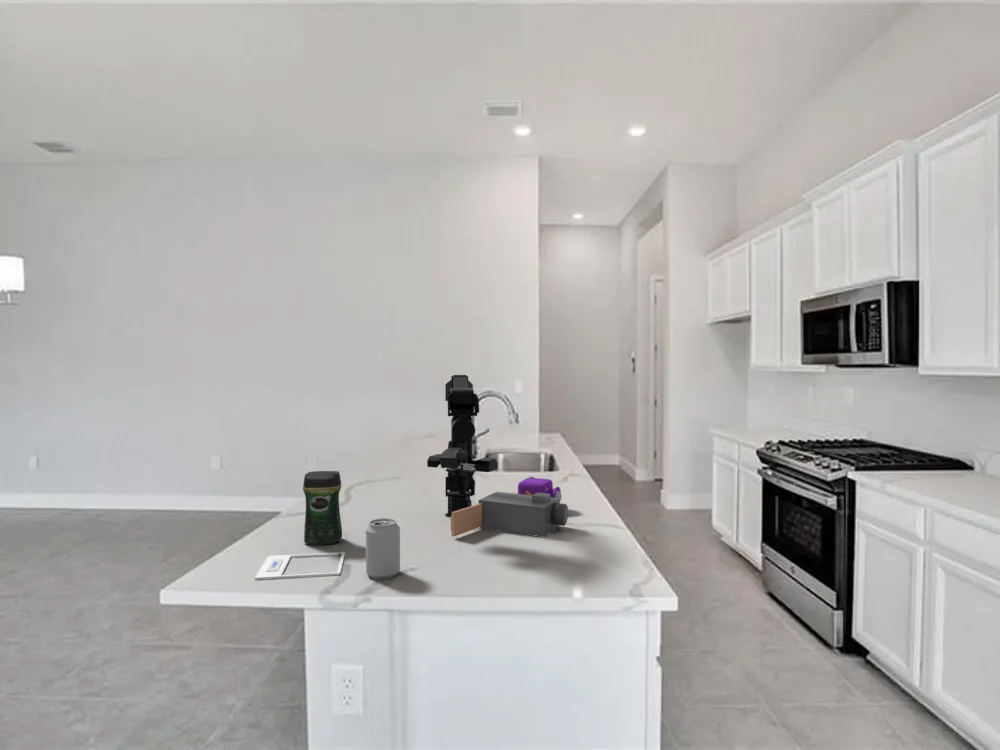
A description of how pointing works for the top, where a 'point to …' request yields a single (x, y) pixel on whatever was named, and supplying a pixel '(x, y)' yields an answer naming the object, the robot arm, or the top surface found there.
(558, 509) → the block
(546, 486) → the toy camera
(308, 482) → the coffee jar
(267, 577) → the photo frame
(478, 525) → the side door
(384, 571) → the can
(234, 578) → the top surface
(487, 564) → the top surface
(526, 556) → the top surface
